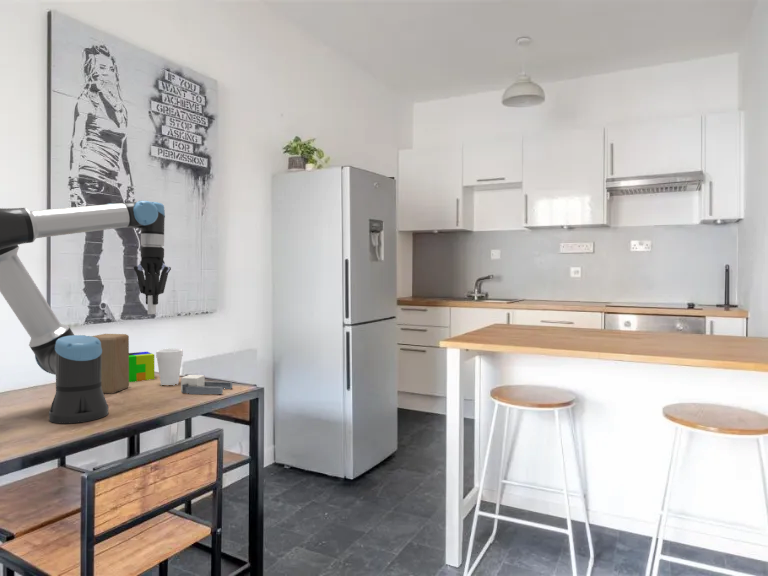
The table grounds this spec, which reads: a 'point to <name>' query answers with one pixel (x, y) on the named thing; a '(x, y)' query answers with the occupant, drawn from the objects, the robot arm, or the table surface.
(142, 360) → the puzzle toy
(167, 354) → the foam cup
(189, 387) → the chute
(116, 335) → the wooden block
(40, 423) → the table surface
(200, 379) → the block
